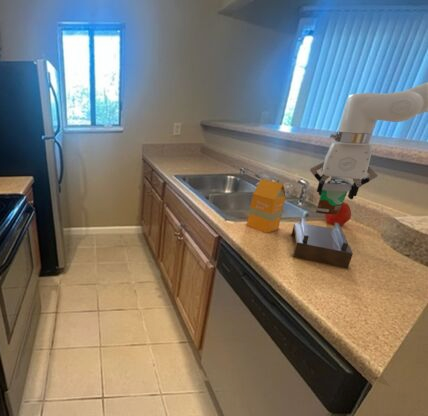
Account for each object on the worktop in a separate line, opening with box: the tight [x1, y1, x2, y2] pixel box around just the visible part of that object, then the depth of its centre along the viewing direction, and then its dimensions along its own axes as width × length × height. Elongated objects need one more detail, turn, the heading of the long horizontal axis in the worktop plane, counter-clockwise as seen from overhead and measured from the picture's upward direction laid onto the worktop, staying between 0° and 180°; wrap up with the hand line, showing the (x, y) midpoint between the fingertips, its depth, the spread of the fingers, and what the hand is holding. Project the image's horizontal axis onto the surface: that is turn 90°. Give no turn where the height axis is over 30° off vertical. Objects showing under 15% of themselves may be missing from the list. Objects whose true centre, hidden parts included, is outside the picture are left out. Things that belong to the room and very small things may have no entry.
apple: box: [324, 201, 352, 227], centre depth 113 cm, size 8×8×11 cm
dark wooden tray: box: [291, 217, 354, 270], centre depth 94 cm, size 14×19×8 cm
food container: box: [315, 176, 353, 215], centre depth 86 cm, size 12×6×10 cm, turn 133°
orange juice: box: [246, 178, 287, 234], centre depth 109 cm, size 8×9×20 cm
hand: (334, 195), depth 86 cm, fingers closed on food container, 6 cm apart
